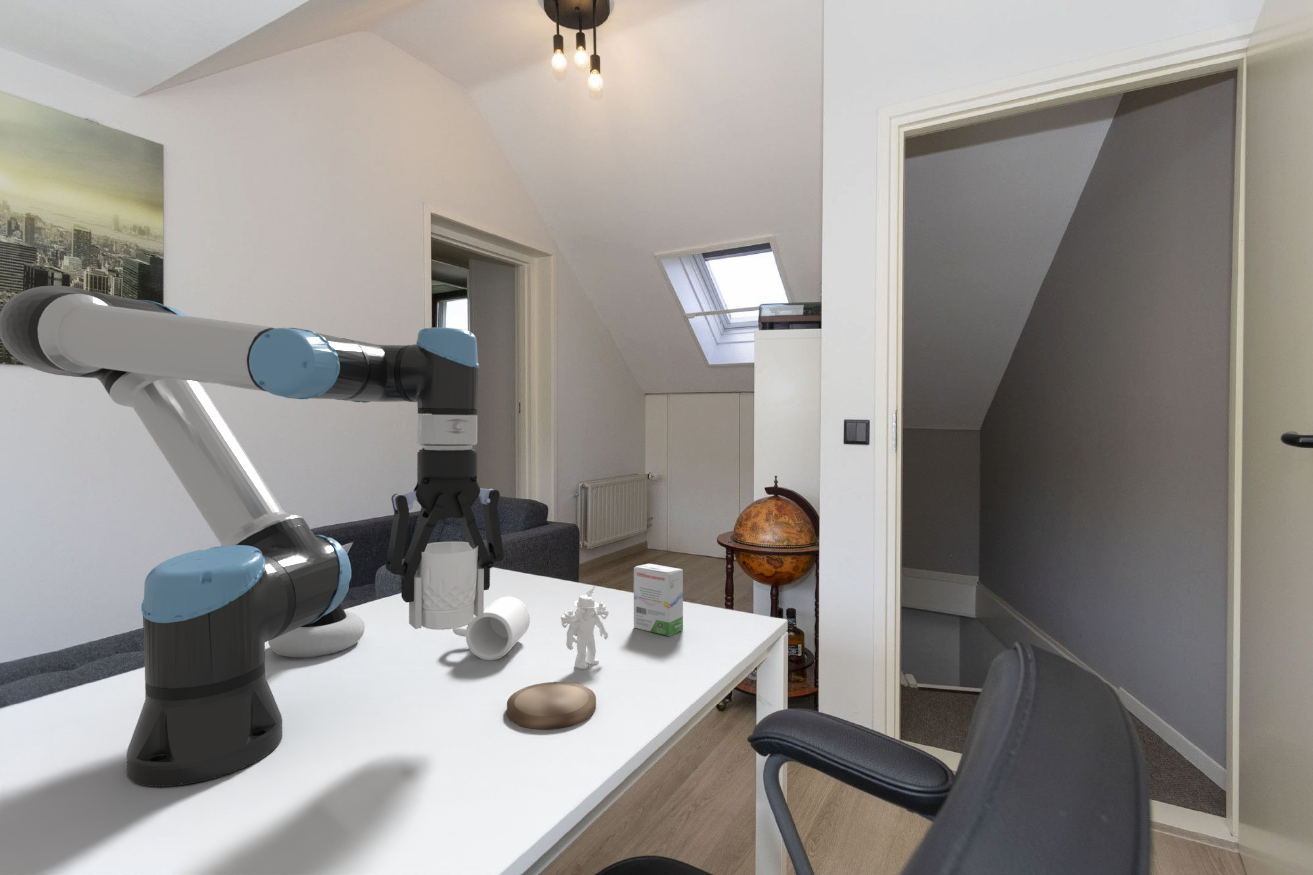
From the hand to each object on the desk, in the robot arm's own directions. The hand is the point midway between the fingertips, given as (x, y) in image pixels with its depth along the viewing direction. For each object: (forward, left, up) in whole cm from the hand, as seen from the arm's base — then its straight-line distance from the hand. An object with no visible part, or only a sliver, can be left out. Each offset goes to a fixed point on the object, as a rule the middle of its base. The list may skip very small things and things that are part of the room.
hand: (446, 619), depth 86 cm
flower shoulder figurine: (+24, +5, -13) cm, 28 cm away
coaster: (+12, -6, -13) cm, 19 cm away
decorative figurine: (-9, +40, -13) cm, 43 cm away
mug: (+14, +21, -13) cm, 28 cm away
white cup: (0, 0, -1) cm, 1 cm away
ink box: (+44, +12, -13) cm, 48 cm away
